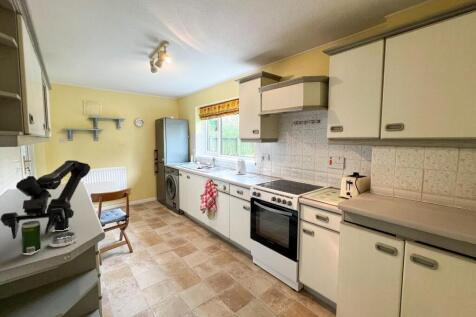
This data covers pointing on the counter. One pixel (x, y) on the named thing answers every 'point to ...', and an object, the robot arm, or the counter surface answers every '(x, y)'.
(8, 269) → the counter surface
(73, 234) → the duct collar
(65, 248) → the counter surface
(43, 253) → the counter surface
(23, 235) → the beer can
